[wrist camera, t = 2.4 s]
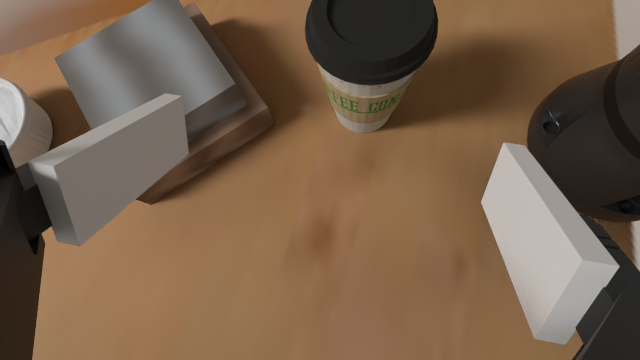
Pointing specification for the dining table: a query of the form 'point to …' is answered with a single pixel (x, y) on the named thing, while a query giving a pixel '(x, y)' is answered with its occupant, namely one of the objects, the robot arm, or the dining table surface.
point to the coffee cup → (369, 54)
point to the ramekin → (23, 124)
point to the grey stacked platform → (168, 83)
